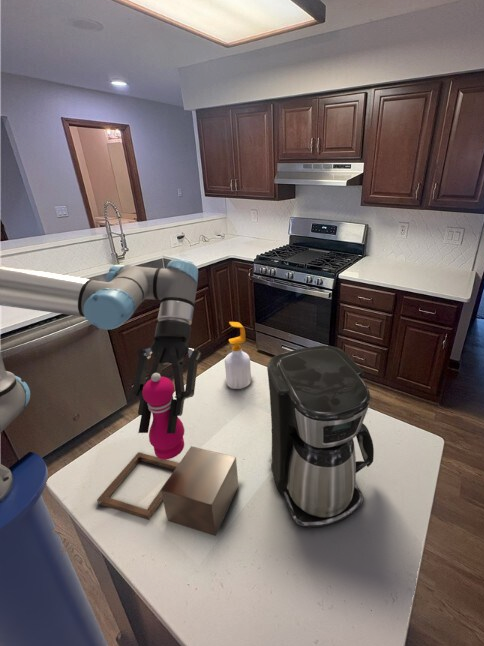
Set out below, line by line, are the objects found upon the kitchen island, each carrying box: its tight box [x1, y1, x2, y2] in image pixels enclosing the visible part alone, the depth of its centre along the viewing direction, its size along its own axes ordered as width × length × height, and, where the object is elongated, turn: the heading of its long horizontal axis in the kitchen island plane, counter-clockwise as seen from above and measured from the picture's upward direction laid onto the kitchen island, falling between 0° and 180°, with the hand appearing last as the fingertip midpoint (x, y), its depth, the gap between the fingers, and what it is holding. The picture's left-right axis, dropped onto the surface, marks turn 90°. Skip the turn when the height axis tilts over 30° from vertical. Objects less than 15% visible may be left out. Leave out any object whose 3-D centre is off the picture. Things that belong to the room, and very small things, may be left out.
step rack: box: [96, 446, 239, 537], centre depth 74 cm, size 30×14×10 cm, turn 75°
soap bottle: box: [224, 321, 252, 390], centre depth 112 cm, size 9×9×25 cm
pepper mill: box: [142, 373, 185, 460], centre depth 66 cm, size 7×7×20 cm
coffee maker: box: [266, 345, 375, 528], centre depth 75 cm, size 23×32×34 cm
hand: (157, 432), depth 63 cm, fingers closed on pepper mill, 5 cm apart
